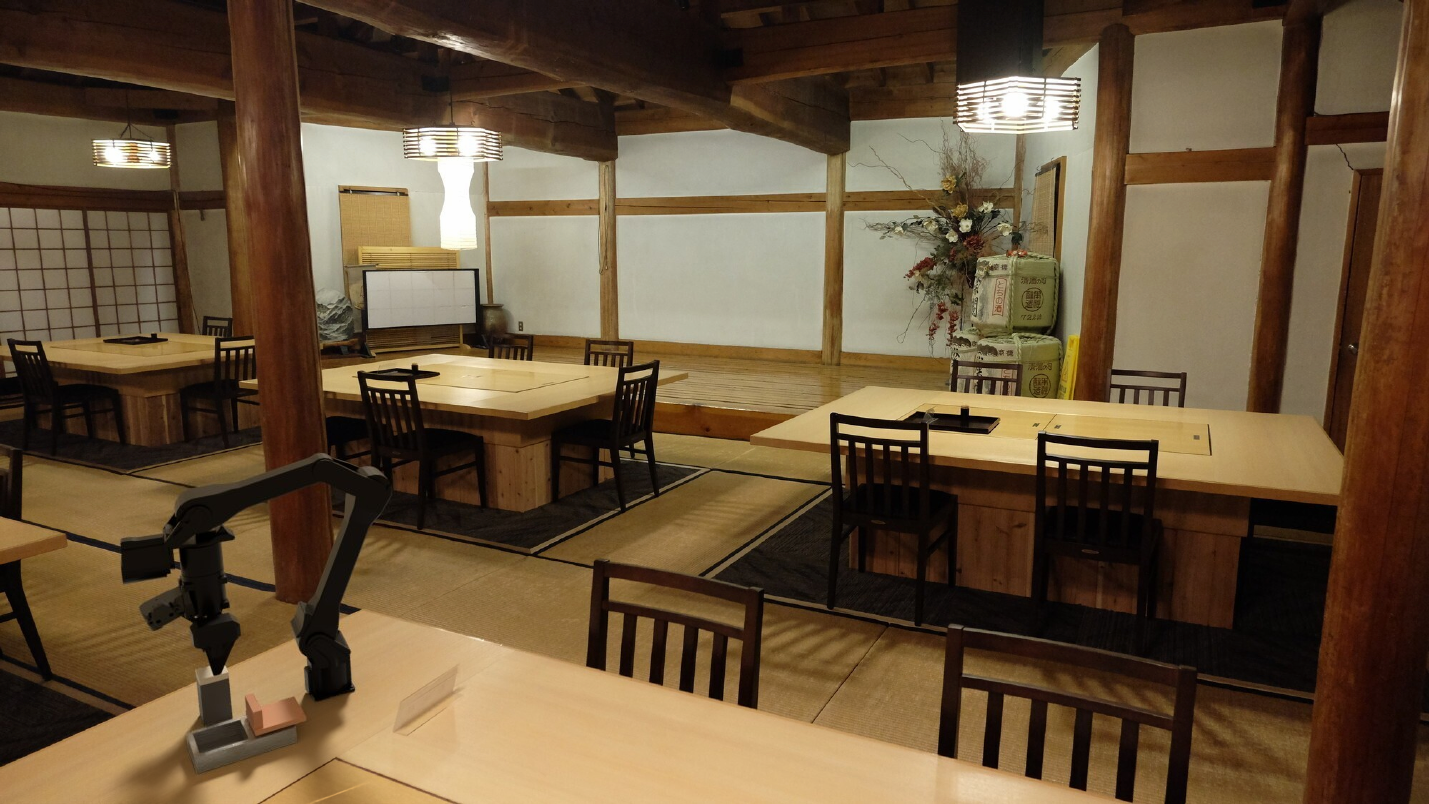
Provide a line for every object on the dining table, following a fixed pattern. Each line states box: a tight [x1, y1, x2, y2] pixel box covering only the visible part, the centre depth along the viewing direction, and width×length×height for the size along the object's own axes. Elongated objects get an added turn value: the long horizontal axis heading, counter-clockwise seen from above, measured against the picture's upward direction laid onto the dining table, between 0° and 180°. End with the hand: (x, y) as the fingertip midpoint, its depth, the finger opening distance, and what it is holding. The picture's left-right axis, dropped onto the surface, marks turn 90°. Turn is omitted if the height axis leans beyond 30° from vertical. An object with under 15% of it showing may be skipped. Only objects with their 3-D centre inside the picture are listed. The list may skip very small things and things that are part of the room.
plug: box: [194, 665, 234, 727], centre depth 138 cm, size 4×4×8 cm
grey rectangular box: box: [185, 714, 298, 775], centre depth 131 cm, size 13×8×2 cm, turn 129°
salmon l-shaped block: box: [244, 692, 307, 736], centre depth 133 cm, size 7×7×4 cm
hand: (211, 663), depth 137 cm, fingers open, 9 cm apart
